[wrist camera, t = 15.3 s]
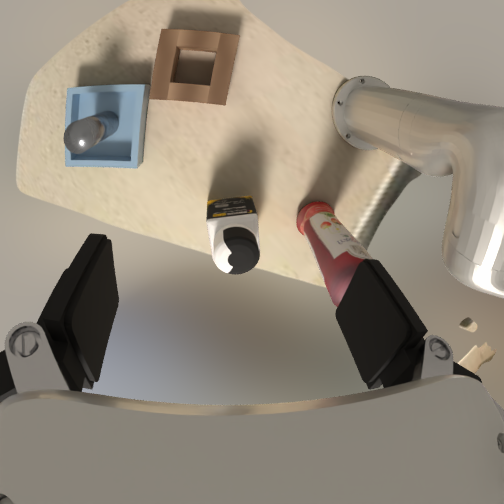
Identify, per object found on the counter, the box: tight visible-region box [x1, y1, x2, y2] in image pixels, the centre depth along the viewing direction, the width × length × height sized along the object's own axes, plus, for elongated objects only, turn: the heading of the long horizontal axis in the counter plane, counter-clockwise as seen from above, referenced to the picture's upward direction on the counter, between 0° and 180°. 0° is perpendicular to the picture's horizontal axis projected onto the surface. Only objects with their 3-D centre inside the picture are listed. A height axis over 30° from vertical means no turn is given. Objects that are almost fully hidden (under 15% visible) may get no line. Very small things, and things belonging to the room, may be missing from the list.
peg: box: [64, 111, 119, 154], centre depth 29 cm, size 4×4×10 cm
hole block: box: [149, 29, 240, 105], centre depth 30 cm, size 10×10×4 cm
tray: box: [65, 84, 151, 168], centre depth 32 cm, size 12×12×4 cm
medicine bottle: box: [206, 196, 260, 274], centre depth 41 cm, size 7×7×12 cm
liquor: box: [296, 202, 373, 307], centre depth 36 cm, size 7×7×28 cm
